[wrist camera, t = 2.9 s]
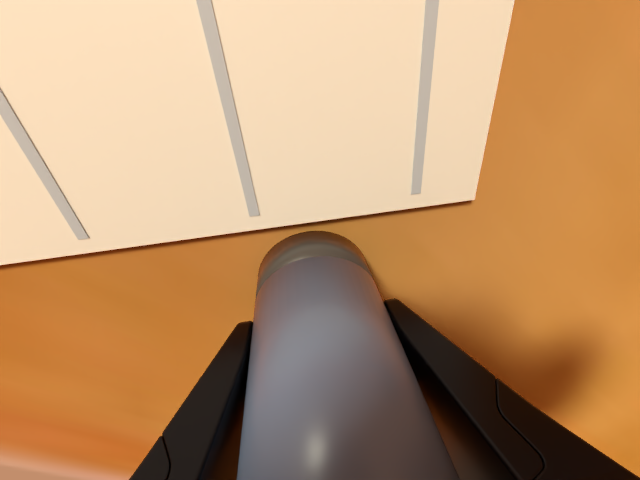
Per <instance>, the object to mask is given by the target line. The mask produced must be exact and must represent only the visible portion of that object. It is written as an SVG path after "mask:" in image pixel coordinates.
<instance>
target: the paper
mask: <svg viewBox="0 0 640 480" xmlns="http://www.w3.org/2000/svg"><path fill="white" fill-rule="evenodd" d="M514 1H515V0H0V265H5V264H12V263H20V262H27V261H34V260H41V259H49V258H56V257H63V256H70V255H78V254H85V253H92V252H99V251H107V250H114V249H121V248H128V247H136V246H143V245H150V244H157V243H164V242H172V241H179V240H186V239H193V238H201V237H208V236H215V235H222V234H230V233H237V232H244V231H251V230H259V229H266V228H273V227H280V226H288V225H295V224H302V223H309V222H317V221H324V220H331V219H338V218H346V217H353V216H360V215H367V214H375V213H382V212H389V211H396V210H404V209H411V208H418V207H425V206H433V205H440V204H447V203H454V202H462V201H469V200H475V195H476V190H477V185H478V180H479V175H480V170H481V165H482V160H483V155H484V150H485V145H486V140H487V135H488V130H489V125H490V120H491V115H492V110H493V105H494V100H495V95H496V90H497V85H498V80H499V75H500V70H501V66H502V61H503V56H504V51H505V46H506V41H507V36H508V31H509V26H510V21H511V16H512V11H513V6H514Z"/></svg>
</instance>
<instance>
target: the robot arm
mask: <svg viewBox="0 0 640 480" xmlns="http://www.w3.org/2000/svg"><path fill="white" fill-rule="evenodd" d="M383 303H384V305H385V307H386V310H387V312H388V314H389V316H390V319H391V321H392V323H393V326H394V328H395V330H396V333H397V335H398V337H399V340H400V342H401V344H402V347H403V349H404V351H405V353H406V356H407V358H408V360H409V363H410V365H411V367H412V370H413V372H414V374H415V377H416V379H417V381H418V384H419V386H420V388H421V391H422V393H423V395H424V397H425V400H426V402H427V404H428V407H429V409H430V411H431V414H432V416H433V418H434V421H435V423H436V425H437V428H438V430H439V432H440V434H441V437H442V439H443V441H444V444H445V446H446V448H447V451H448V453H449V455H450V458H451V460H452V462H453V465H454V467H455V469H456V471H457V474H458V476H459V478H460V480H640V477H638V476H636V475H635V474H633V473H632V472H630V471H629V470H627V469H626V468H624V467H623V466H621V465H620V464H618V463H617V462H615V461H614V460H612V459H611V458H609V457H608V456H606V455H605V454H603V453H602V452H600V451H599V450H597V449H596V448H594V447H593V446H591V445H590V444H589V443H587V442H586V441H584V440H583V439H581V438H580V437H578V436H577V435H575V434H574V433H572V432H571V431H569V430H568V429H566V428H565V427H563V426H562V425H560V424H559V423H557V422H556V421H555V420H553V419H552V418H550V417H549V416H548V415H546V414H545V413H543V412H542V411H540V410H539V409H538V408H536V407H535V406H533V405H532V404H531V403H529V402H528V401H527V400H525V399H524V398H523V397H521V396H520V395H519V394H517V393H516V392H515V391H513V390H512V389H511V388H510V387H508V386H507V385H506V384H504V383H503V382H502V381H501V380H499V379H498V378H497V379H496V377H495V376H494V375H493V374H492V373H490V372H489V371H488V370H487V369H485V368H484V367H483V366H481V365H480V364H479V363H478V362H476V361H475V360H474V359H473V358H471V357H470V356H469V355H468V354H466V353H465V352H464V351H462V350H461V349H460V348H459V347H457V346H456V345H455V344H454V343H452V342H451V341H450V340H449V339H447V338H446V337H445V336H443V335H442V334H441V333H440V332H438V331H437V330H436V329H435V328H433V327H432V326H431V325H430V324H428V323H427V322H426V321H424V320H423V319H422V318H421V317H419V316H418V315H417V314H416V313H414V312H413V311H412V310H411V309H409V308H408V307H407V306H405V305H404V304H403V303H402V302H400V301H399V300H398V299H390V300H385V301H384V302H383ZM252 329H253V322H252V321H247V322H240V323H238V324H237V326H236V327H235V329H234V330H233V331H232V333H231V334H230V336H229V337H228V339H227V340H226V342H225V343H224V344H223V346H222V347H221V349H220V350H219V352H218V353H217V355H216V356H215V357H214V359H213V360H212V362H211V363H210V365H209V366H208V368H207V369H206V371H205V372H204V373H203V375H202V376H201V378H200V379H199V381H198V382H197V384H196V385H195V386H194V388H193V389H192V391H191V392H190V394H189V395H188V397H187V398H186V400H185V401H184V402H183V404H182V405H181V407H180V408H179V410H178V411H177V413H176V414H175V415H174V417H173V418H172V420H171V421H170V423H169V424H168V426H167V427H166V428H165V430H164V431H163V433H162V435H163V436H160V437H159V438H158V440H157V441H156V443H155V444H154V446H153V447H152V449H151V450H150V451H149V453H148V454H147V456H146V457H145V458H144V460H143V461H142V463H141V464H140V465H139V467H138V468H137V470H136V471H135V472H134V474H133V475H132V476H131V478H130V479H129V480H237V472H238V462H239V453H240V443H241V434H242V424H243V415H244V405H245V396H246V386H247V377H248V367H249V358H250V348H251V339H252Z"/></svg>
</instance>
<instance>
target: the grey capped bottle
mask: <svg viewBox="0 0 640 480" xmlns="http://www.w3.org/2000/svg"><path fill="white" fill-rule="evenodd" d="M237 480H460V478H459V476H458V474H457V471H456V469H455V467H454V465H453V462H452V460H451V458H450V455H449V453H448V451H447V448H446V446H445V444H444V441H443V439H442V437H441V434H440V432H439V430H438V428H437V425H436V423H435V421H434V418H433V416H432V414H431V411H430V409H429V407H428V404H427V402H426V400H425V397H424V395H423V393H422V391H421V388H420V386H419V384H418V381H417V379H416V377H415V374H414V372H413V370H412V367H411V365H410V363H409V360H408V358H407V356H406V353H405V351H404V349H403V347H402V344H401V342H400V340H399V337H398V335H397V333H396V330H395V328H394V326H393V323H392V321H391V319H390V316H389V314H388V312H387V310H386V307H385V305H384V303H383V300H382V298H381V296H380V293H379V291H378V289H377V286H376V284H375V282H374V279H373V277H372V275H371V273H370V270H369V268H368V266H367V263H366V261H365V259H364V256H363V254H362V253H361V251H360V250H359V249H358V247H357V246H356V245H355V244H354V243H352V242H351V241H350V240H348V239H346V238H345V237H343V236H340V235H338V234H335V233H331V232H325V231H308V232H303V233H298V234H295V235H292V236H290V237H288V238H285V239H284V240H282V241H280V242H279V243H277V244H276V245H275V246H274V247H273V248H272V249H271V250H270V251H269V252H268V253H267V254H266V256H265V257H264V259H263V261H262V263H261V265H260V268H259V273H258V282H257V291H256V301H255V310H254V320H253V329H252V339H251V348H250V358H249V367H248V377H247V386H246V396H245V405H244V415H243V424H242V434H241V443H240V453H239V462H238V472H237Z"/></svg>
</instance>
